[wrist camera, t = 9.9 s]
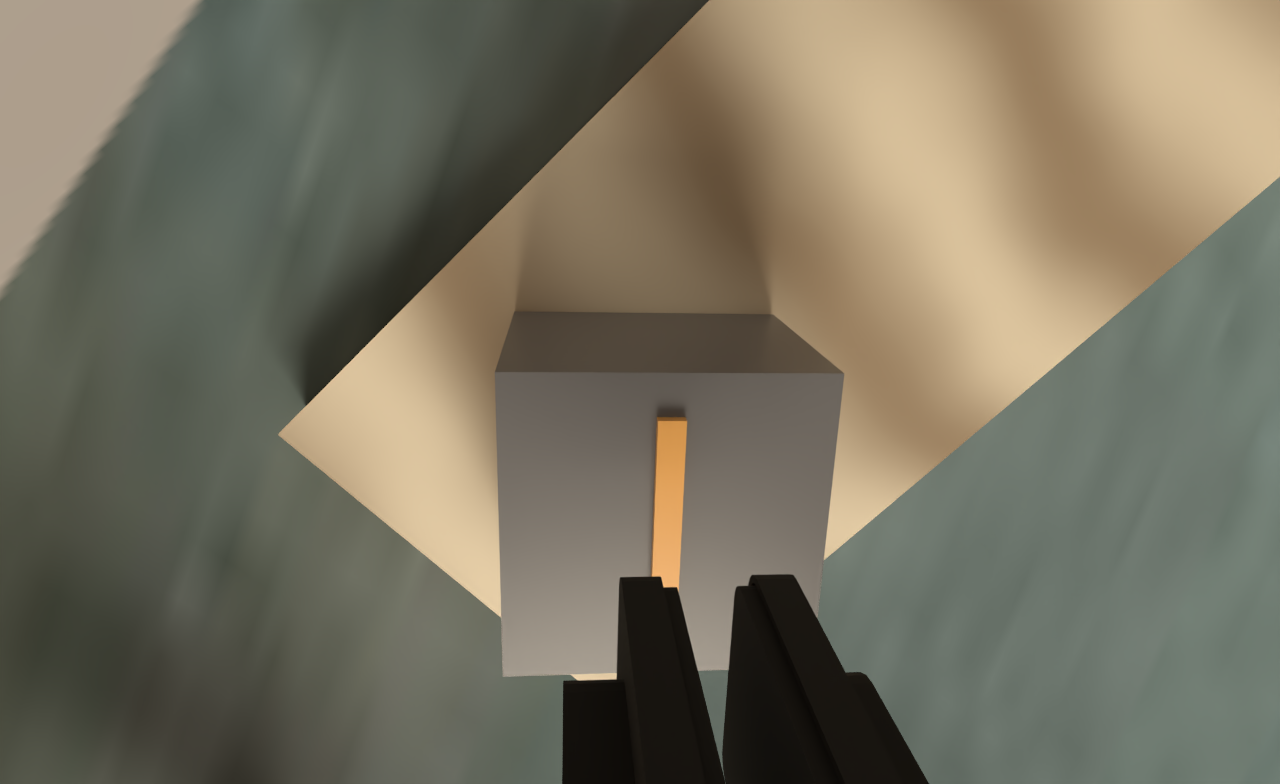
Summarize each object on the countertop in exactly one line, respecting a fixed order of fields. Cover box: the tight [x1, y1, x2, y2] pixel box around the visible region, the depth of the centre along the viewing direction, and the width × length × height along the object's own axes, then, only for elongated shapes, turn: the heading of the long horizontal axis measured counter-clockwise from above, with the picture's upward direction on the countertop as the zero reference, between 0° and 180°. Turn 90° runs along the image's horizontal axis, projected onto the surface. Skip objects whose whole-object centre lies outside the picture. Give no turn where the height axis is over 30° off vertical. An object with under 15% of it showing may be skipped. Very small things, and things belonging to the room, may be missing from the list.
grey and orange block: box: [495, 311, 844, 677], centre depth 17 cm, size 6×6×5 cm
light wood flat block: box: [278, 0, 1280, 680], centre depth 18 cm, size 24×12×6 cm, turn 133°
